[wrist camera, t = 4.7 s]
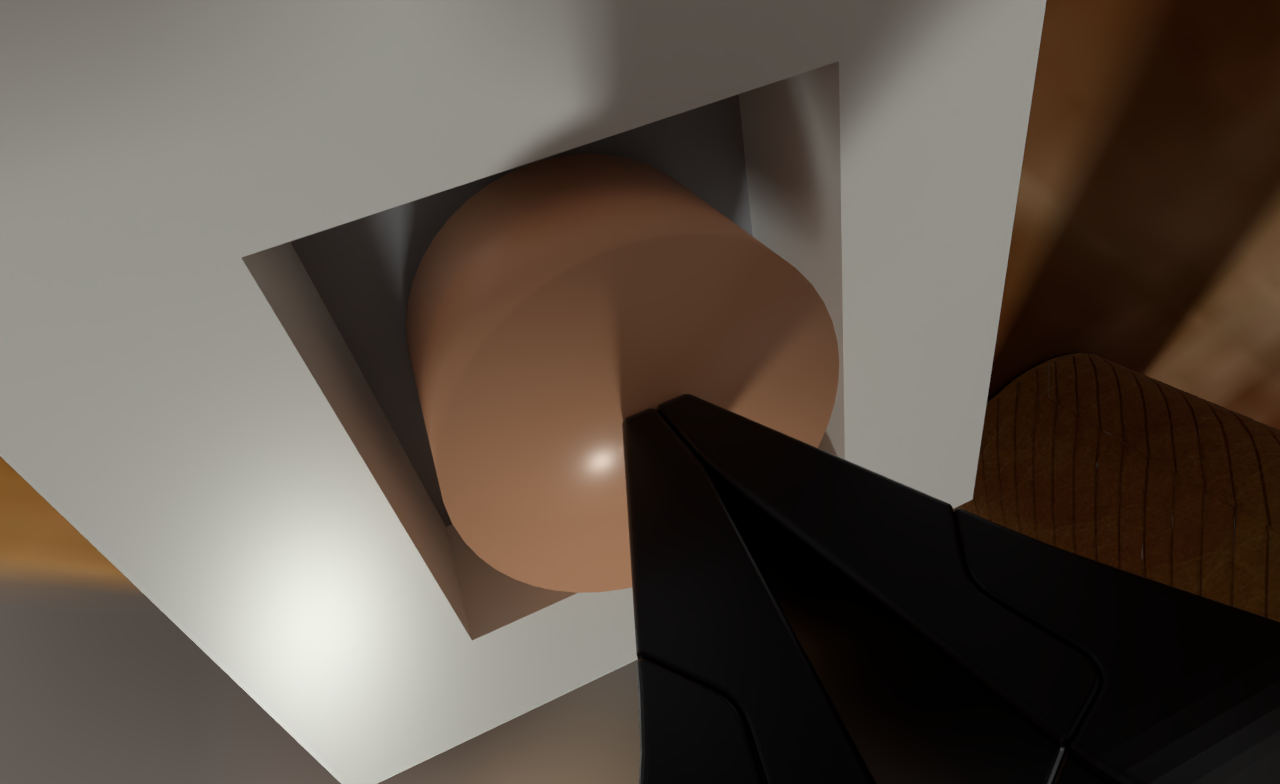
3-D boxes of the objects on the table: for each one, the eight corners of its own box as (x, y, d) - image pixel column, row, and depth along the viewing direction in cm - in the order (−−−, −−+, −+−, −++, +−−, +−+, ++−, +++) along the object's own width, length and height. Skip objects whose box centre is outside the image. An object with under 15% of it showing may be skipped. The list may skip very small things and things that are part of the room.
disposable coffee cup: (1070, 237, 17) (2018, 648, 7) (1201, 364, 22) (1846, 693, 13) (826, 536, 20) (1294, 1101, 10) (995, 584, 25) (1402, 983, 16)
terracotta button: (707, 105, 10) (835, 168, 7) (743, 390, 13) (842, 497, 10) (341, 225, 9) (354, 341, 6) (476, 501, 12) (518, 646, 9)
